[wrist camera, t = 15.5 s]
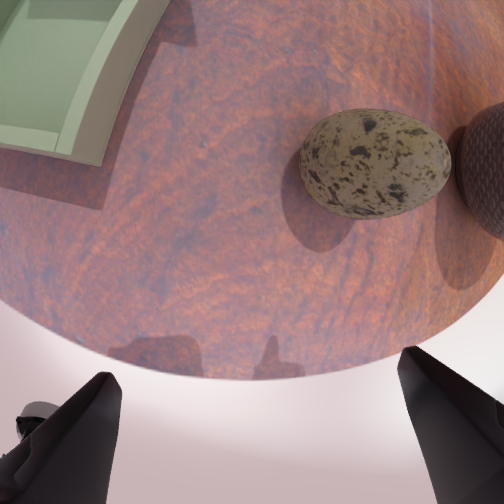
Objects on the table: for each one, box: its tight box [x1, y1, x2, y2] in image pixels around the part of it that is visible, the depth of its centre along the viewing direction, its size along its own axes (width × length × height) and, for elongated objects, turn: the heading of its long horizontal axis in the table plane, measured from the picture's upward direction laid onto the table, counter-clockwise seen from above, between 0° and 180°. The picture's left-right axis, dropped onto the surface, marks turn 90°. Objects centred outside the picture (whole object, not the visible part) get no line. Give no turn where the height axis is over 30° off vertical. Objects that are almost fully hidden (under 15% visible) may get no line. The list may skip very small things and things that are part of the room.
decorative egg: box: [299, 108, 451, 220], centre depth 14 cm, size 6×6×10 cm
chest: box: [0, 0, 171, 167], centre depth 9 cm, size 16×13×6 cm
